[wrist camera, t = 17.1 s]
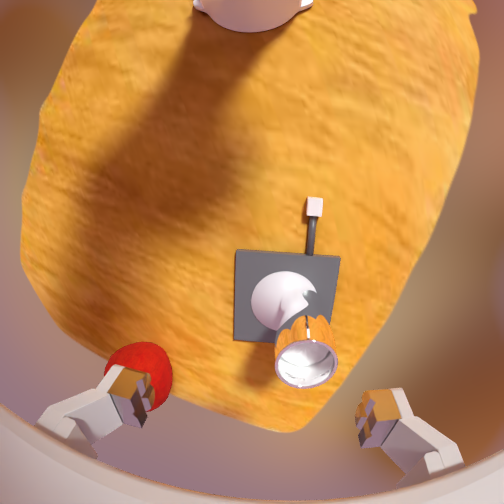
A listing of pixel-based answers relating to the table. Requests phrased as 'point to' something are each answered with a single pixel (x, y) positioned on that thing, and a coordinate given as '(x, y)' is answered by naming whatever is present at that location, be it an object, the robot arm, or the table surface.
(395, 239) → the table surface
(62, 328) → the table surface
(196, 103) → the table surface
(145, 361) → the apple
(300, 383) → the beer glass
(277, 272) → the charging dock
